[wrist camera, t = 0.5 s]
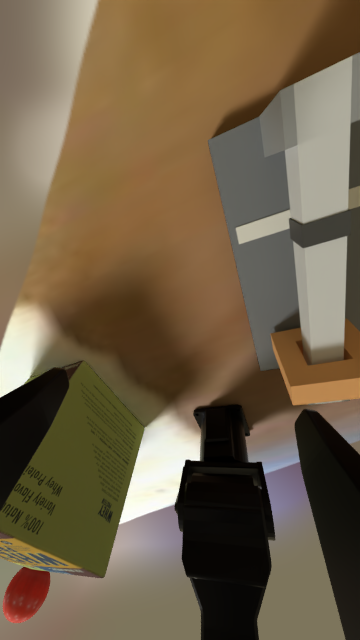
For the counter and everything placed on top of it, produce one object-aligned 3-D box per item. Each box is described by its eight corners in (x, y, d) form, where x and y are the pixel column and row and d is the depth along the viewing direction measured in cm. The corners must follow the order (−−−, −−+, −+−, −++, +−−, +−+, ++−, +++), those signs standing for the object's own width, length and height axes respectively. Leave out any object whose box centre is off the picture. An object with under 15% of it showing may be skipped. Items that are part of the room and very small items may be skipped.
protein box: (83, 358, 27) (-32, 520, 14) (146, 427, 34) (106, 580, 21) (27, 377, 31) (-106, 522, 18) (94, 437, 38) (33, 573, 25)
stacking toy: (106, 452, 40) (39, 628, 24) (110, 472, 44) (55, 631, 29) (64, 444, 40) (-28, 613, 25) (72, 465, 45) (-2, 619, 29)
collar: (346, 337, 19) (394, 394, 14) (273, 350, 21) (293, 405, 16) (346, 318, 18) (399, 372, 13) (270, 333, 20) (290, 386, 15)
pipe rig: (352, 345, 22) (395, 397, 17) (258, 361, 24) (270, 410, 19) (367, 70, 12) (480, -7, 7) (208, 143, 15) (206, 125, 9)
